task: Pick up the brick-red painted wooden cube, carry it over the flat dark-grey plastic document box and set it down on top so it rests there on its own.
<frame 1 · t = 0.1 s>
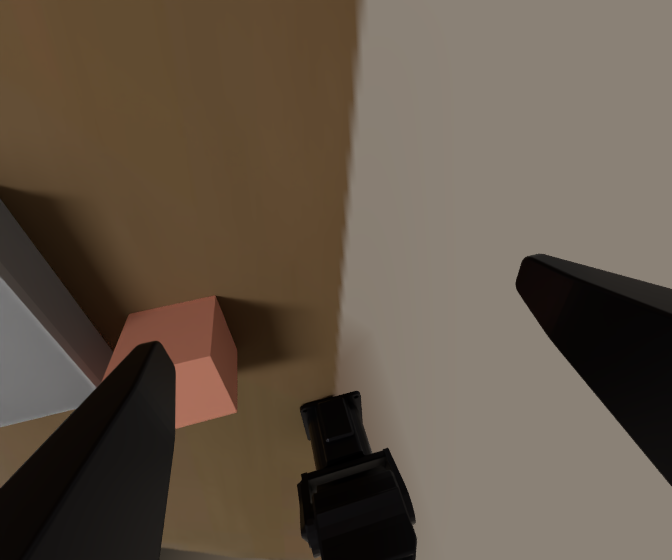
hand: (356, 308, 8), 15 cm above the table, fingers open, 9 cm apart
red cube: (188, 332, 25), on the table
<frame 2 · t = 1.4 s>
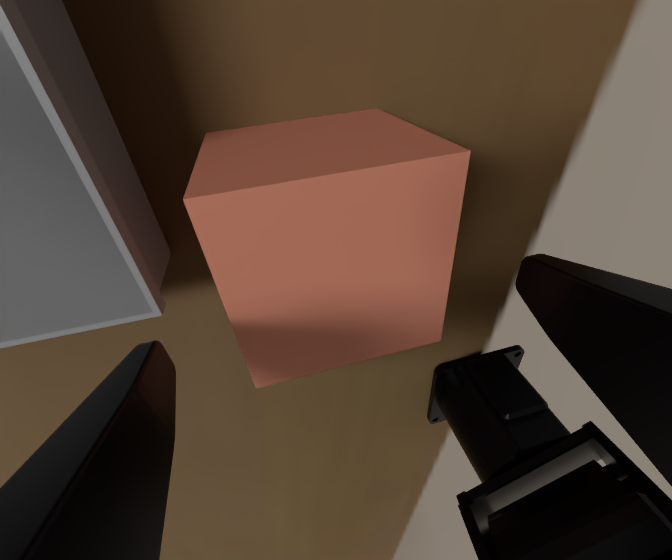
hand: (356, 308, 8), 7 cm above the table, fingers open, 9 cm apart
red cube: (306, 201, 13), on the table
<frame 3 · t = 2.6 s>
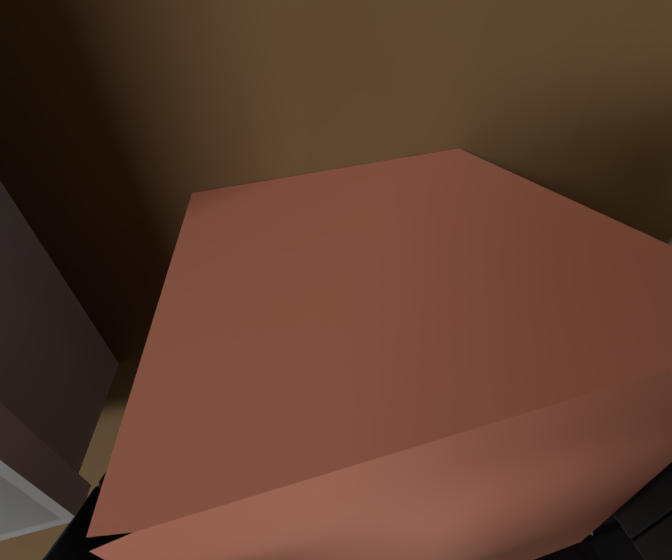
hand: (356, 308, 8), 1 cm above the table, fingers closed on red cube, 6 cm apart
red cube: (343, 279, 9), on the table, touching gripper
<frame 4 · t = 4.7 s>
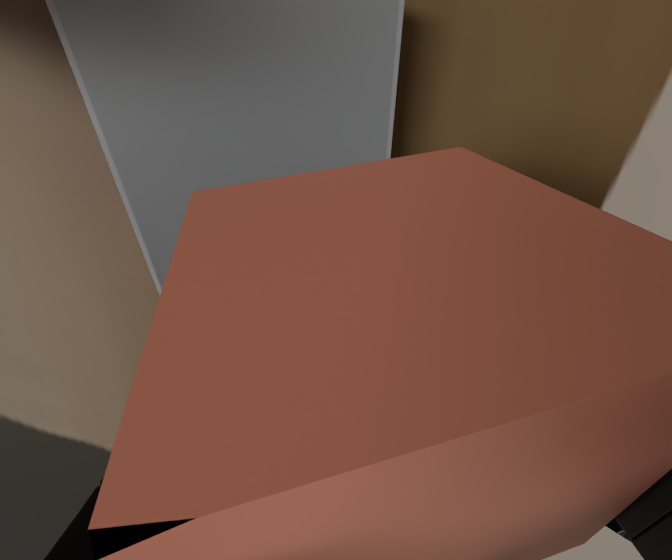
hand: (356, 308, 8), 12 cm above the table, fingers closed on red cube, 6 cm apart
red cube: (344, 278, 9), point 11 cm above the table, touching gripper
grey box: (261, 161, 17), on the table
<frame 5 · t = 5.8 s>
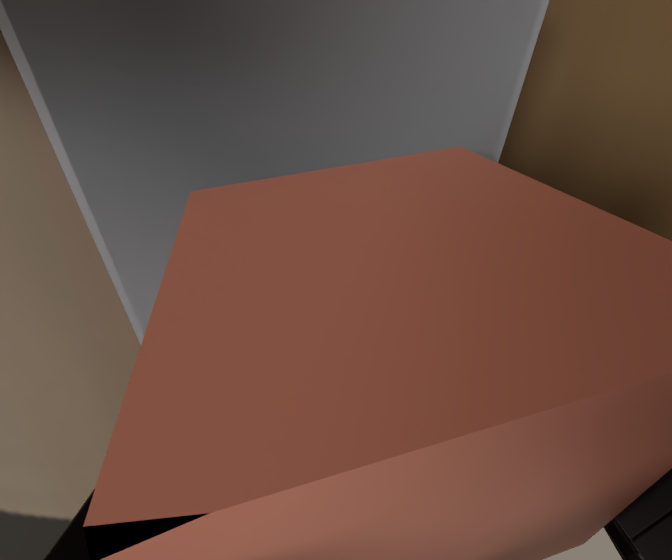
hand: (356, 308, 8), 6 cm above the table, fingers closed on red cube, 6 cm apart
red cube: (343, 278, 9), point 5 cm above the table, touching gripper
grey box: (295, 200, 13), on the table
when the fingers open (6 cm above the table, at t = 6.6 s): red cube drops 2 cm, point 3 cm above the table.
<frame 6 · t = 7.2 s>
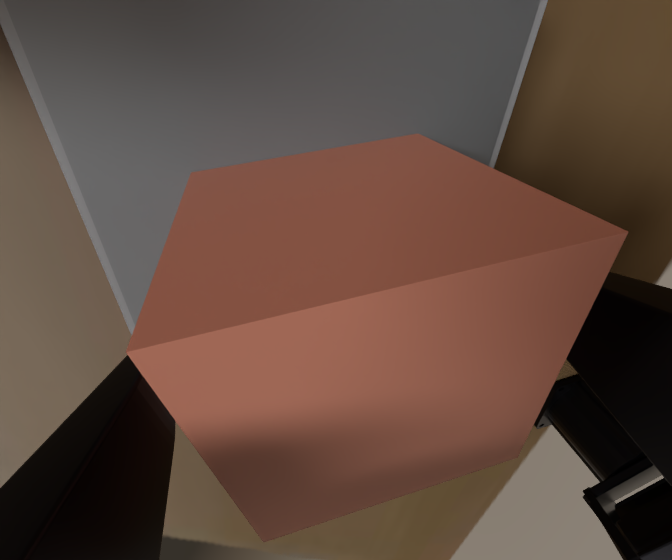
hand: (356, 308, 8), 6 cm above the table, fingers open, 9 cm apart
red cube: (324, 250, 10), point 3 cm above the table
grey box: (292, 200, 13), on the table
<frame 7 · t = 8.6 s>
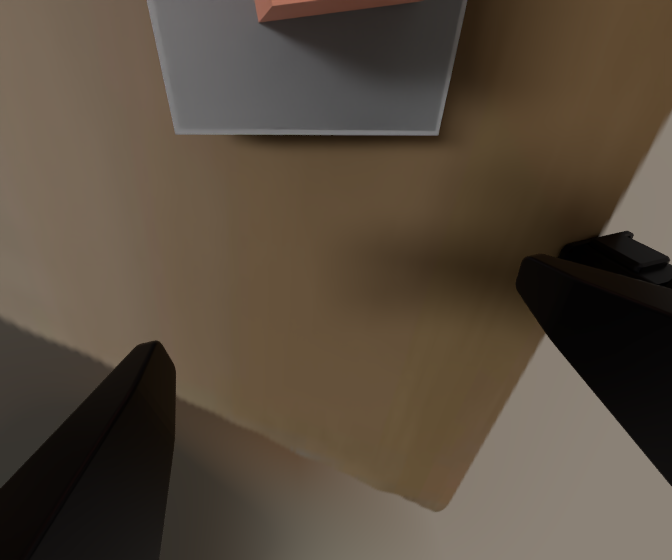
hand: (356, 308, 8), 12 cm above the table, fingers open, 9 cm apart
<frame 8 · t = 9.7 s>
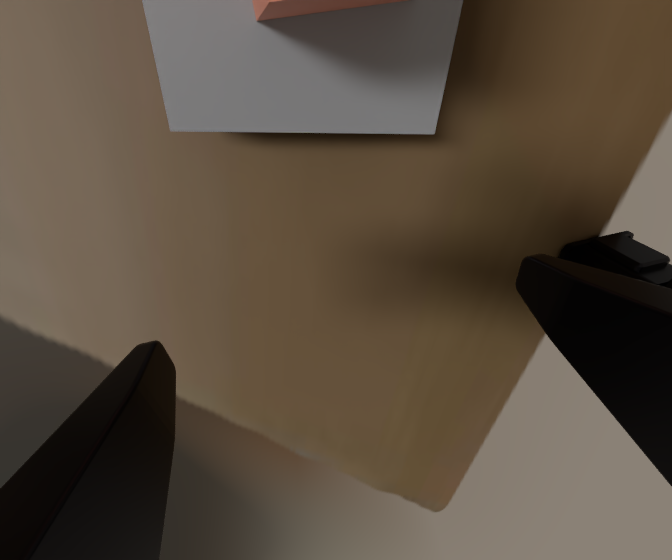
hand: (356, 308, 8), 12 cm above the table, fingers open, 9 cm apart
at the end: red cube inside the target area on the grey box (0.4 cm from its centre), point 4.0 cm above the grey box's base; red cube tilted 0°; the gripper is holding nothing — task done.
